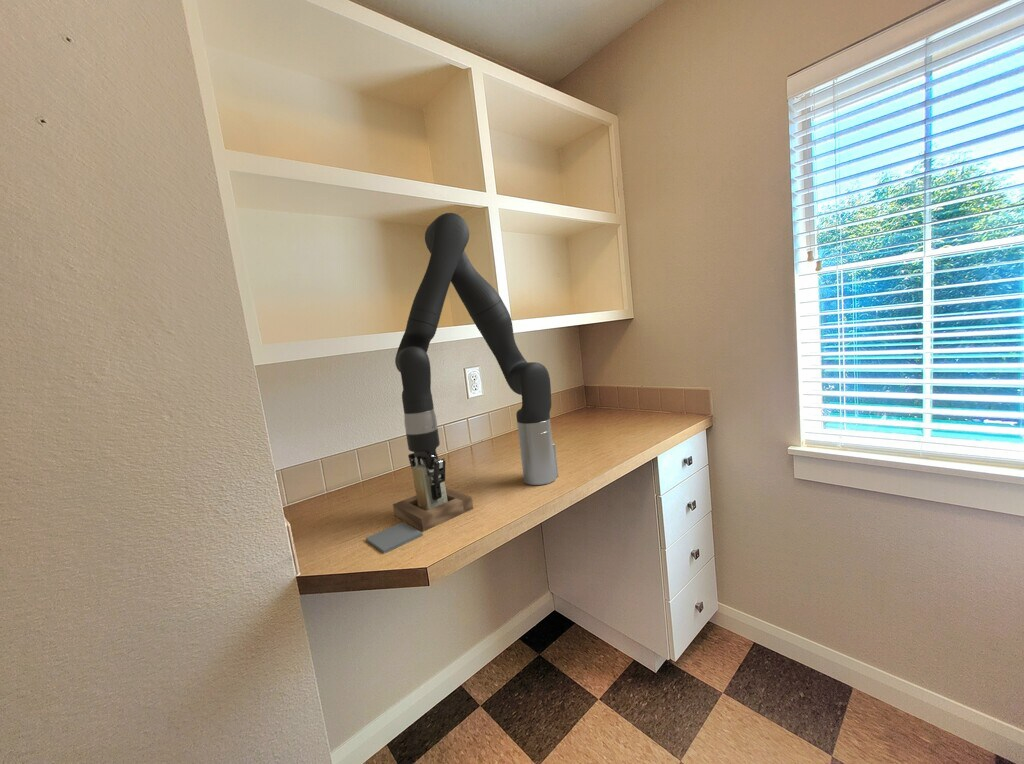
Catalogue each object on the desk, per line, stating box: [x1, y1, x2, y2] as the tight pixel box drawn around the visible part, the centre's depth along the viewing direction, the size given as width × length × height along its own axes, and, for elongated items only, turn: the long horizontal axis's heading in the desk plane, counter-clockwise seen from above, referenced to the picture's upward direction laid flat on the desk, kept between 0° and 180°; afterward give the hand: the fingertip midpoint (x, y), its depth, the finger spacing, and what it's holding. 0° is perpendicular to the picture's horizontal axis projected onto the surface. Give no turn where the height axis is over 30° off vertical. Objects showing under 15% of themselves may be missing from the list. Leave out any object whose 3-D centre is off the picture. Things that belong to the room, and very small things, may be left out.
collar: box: [392, 486, 474, 532], centre depth 99 cm, size 14×14×3 cm
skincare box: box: [411, 465, 448, 511], centre depth 98 cm, size 6×4×12 cm
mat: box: [365, 521, 424, 554], centre depth 88 cm, size 9×9×1 cm
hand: (431, 496), depth 99 cm, fingers closed on skincare box, 4 cm apart
